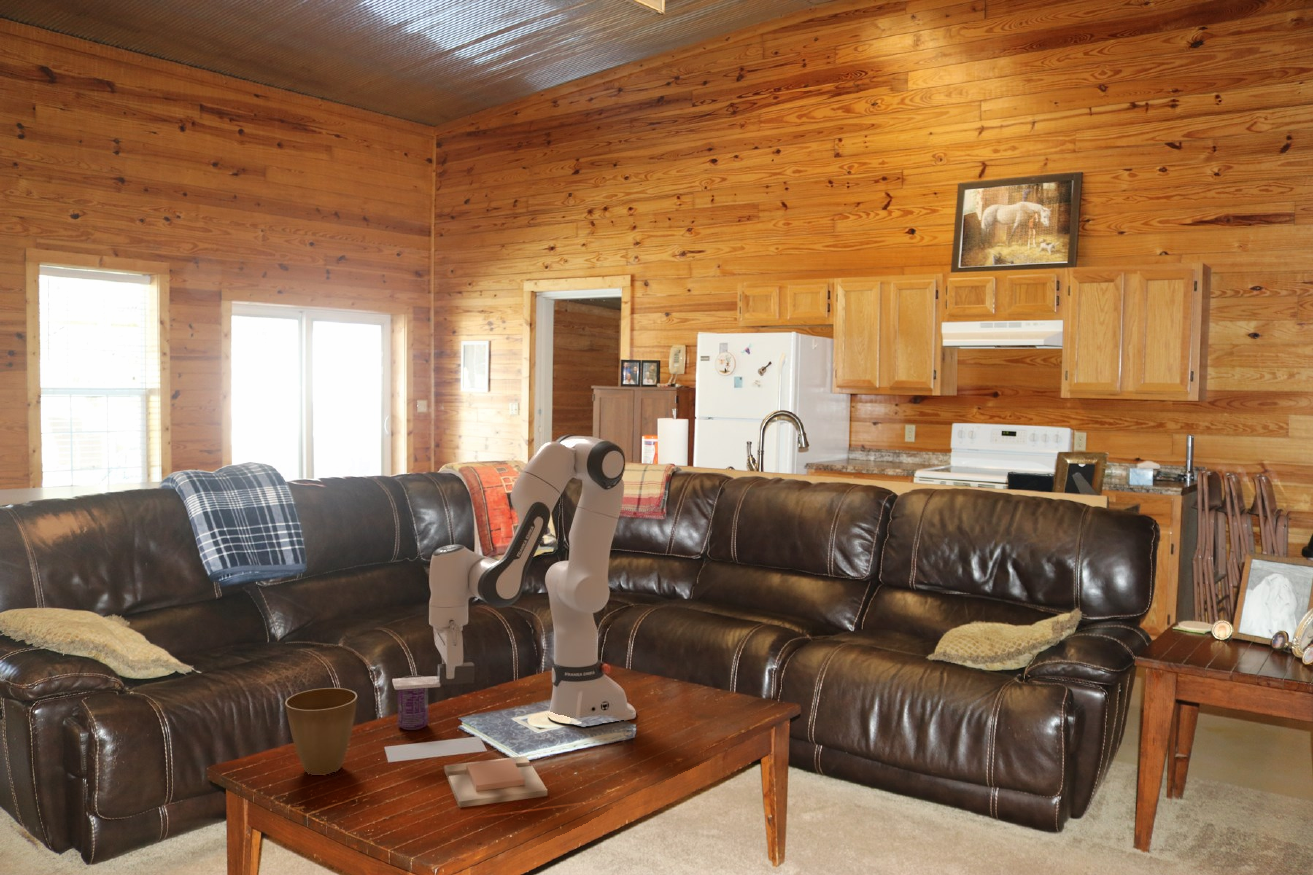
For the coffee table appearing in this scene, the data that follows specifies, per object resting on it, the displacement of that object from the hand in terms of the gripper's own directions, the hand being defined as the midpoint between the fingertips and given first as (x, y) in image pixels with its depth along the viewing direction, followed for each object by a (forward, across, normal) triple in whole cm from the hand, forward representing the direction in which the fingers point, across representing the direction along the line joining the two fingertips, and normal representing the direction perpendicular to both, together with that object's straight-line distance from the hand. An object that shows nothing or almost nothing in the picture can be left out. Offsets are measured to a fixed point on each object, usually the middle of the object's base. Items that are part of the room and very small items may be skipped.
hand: (448, 675), depth 234 cm
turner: (+2, 0, +3) cm, 4 cm away
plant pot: (+18, -4, +28) cm, 33 cm away
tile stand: (+17, -24, -6) cm, 30 cm away
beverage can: (+18, +18, +6) cm, 26 cm away
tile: (+15, -18, -6) cm, 24 cm away
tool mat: (+17, 0, +3) cm, 18 cm away
